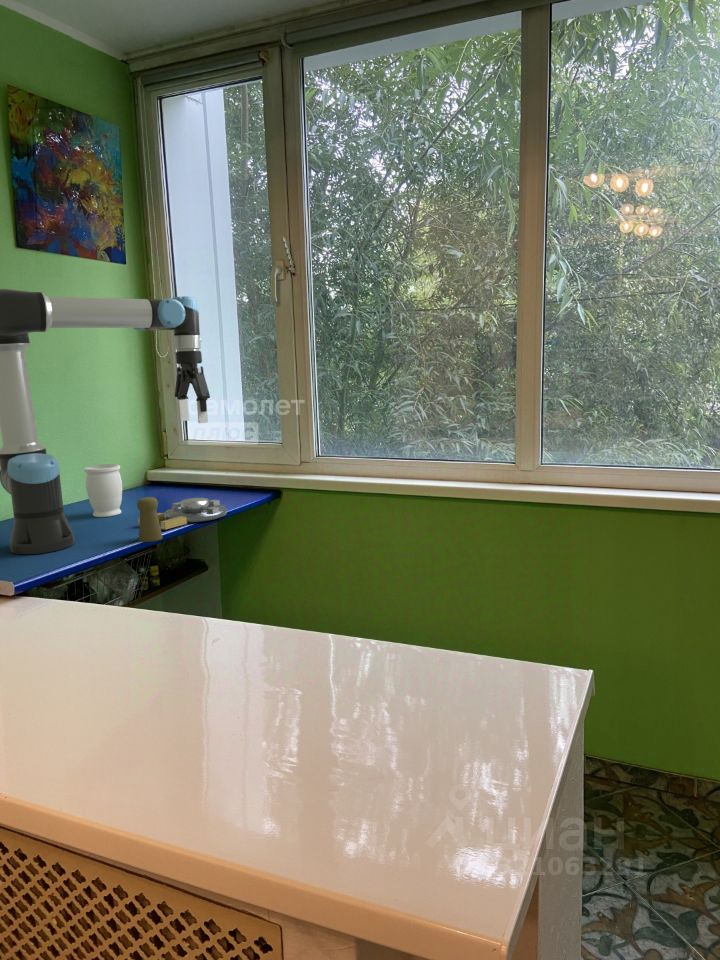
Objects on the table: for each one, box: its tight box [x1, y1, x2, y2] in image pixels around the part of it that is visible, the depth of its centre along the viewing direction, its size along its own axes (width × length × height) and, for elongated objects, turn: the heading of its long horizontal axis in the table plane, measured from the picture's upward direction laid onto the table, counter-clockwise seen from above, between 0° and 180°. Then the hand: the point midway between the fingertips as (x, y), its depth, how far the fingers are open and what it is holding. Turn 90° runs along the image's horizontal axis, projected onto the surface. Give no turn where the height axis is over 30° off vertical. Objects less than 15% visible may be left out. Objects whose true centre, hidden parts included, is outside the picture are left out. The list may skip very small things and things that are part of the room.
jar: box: [83, 463, 123, 518], centre depth 216 cm, size 11×10×15 cm
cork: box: [136, 496, 163, 543], centre depth 184 cm, size 6×6×11 cm
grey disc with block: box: [137, 497, 227, 530], centre depth 205 cm, size 25×18×4 cm
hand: (193, 421), depth 213 cm, fingers open, 13 cm apart
